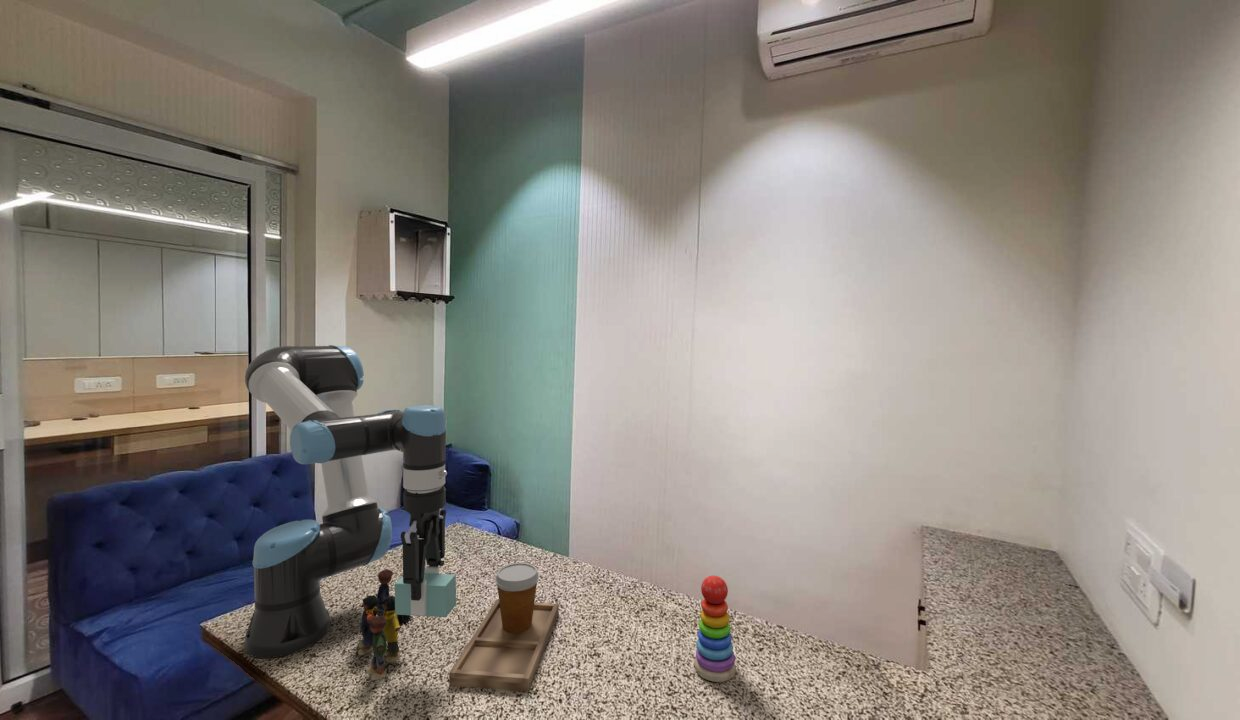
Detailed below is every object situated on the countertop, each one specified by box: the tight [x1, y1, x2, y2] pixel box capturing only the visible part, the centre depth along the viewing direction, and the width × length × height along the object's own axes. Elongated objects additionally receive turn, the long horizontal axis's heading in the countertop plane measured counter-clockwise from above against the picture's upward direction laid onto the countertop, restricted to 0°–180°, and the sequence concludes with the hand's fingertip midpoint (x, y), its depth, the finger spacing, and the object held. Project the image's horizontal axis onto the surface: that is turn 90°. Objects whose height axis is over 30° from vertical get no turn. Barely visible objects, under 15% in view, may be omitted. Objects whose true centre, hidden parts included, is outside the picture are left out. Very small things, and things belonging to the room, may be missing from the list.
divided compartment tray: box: [448, 599, 560, 693], centre depth 104 cm, size 15×26×2 cm, turn 175°
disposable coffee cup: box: [494, 562, 540, 633], centre depth 109 cm, size 10×10×12 cm
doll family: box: [357, 569, 415, 681], centre depth 103 cm, size 23×9×13 cm, turn 42°
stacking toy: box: [693, 575, 737, 683], centre depth 97 cm, size 8×8×19 cm
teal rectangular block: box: [394, 573, 457, 618], centre depth 96 cm, size 10×4×6 cm, turn 84°
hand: (425, 606), depth 96 cm, fingers closed on teal rectangular block, 4 cm apart
